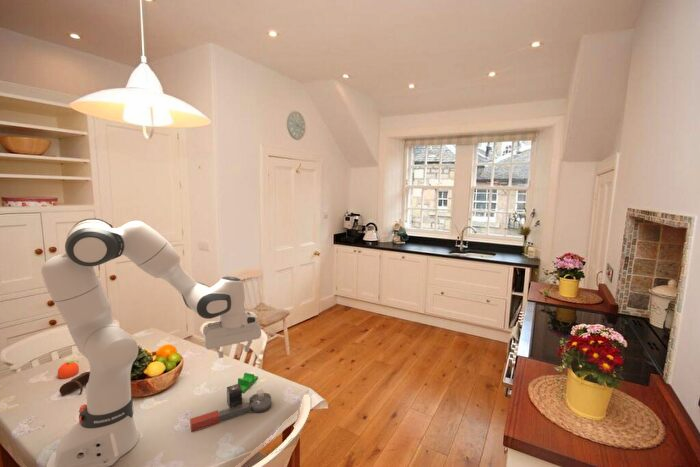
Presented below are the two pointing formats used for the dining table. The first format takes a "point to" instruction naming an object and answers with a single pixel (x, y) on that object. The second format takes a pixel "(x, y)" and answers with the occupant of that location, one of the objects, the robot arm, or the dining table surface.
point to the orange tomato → (68, 370)
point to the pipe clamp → (247, 381)
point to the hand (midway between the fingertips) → (234, 354)
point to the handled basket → (75, 384)
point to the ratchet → (233, 411)
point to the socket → (234, 395)
